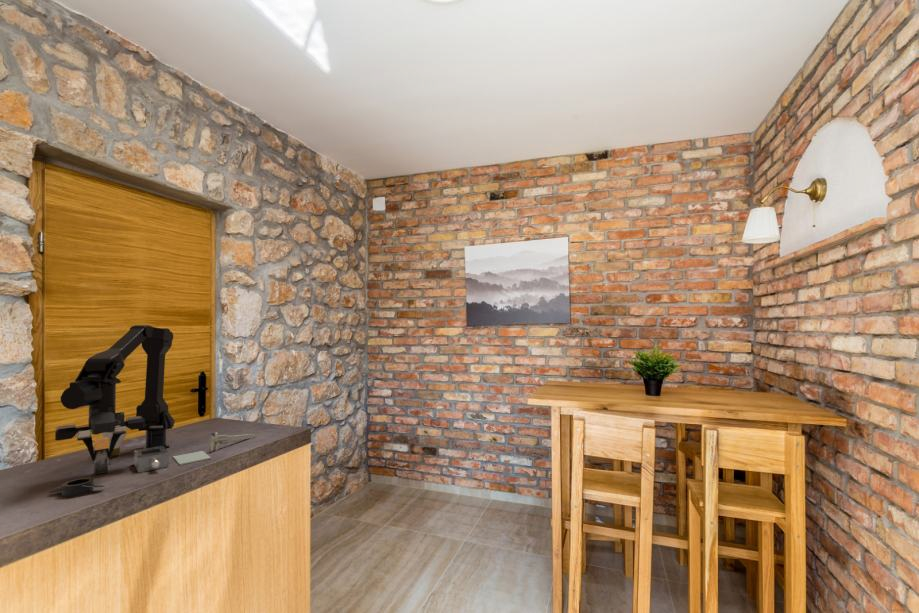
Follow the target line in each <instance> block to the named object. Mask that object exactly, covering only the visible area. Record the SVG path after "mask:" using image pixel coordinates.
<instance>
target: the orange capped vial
mask: <svg viewBox="0 0 919 613" xmlns="http://www.w3.org/2000/svg"><path fill="white" fill-rule="evenodd" d="M93 440H94V441H93V449H94V455H95V457H94V461H93V474H94V475H101V474H104V473H108V471H109V458H108V451H109V437H104V438H103V437H100V438H99V437H98V438H94V439H93Z"/></svg>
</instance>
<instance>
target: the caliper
mask: <svg viewBox="0 0 919 613" xmlns="http://www.w3.org/2000/svg"><path fill="white" fill-rule="evenodd" d="M255 437H257V435H256V434H254V433H248V434H247V433H246V434H245V433H244V434H237V435H236V434H235V435H229V434H221V435H220V434H219V432H217V431H216V432H212V433H211V436H209V439H208V453H213V452H217V451H218V449H219V446H220V444H228V443H229V441H237V440H240V441H241V440H248V439H249V440H250V439H252V438H255Z"/></svg>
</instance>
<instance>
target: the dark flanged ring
mask: <svg viewBox="0 0 919 613" xmlns="http://www.w3.org/2000/svg"><path fill="white" fill-rule="evenodd" d="M95 488H104V485H95V479H94V478H93V477H81V478H75V479H72V480H69V481H66V482H64V483H62V484H61V485H60V486H58V487H54V488H52V489H51V490H50V491H49V493H57V492H59V493H61V498H63V499H67V498H68V499H70V498H76V497H80V496H85V495H87V494H90V493H92V492H94V490H95Z"/></svg>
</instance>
